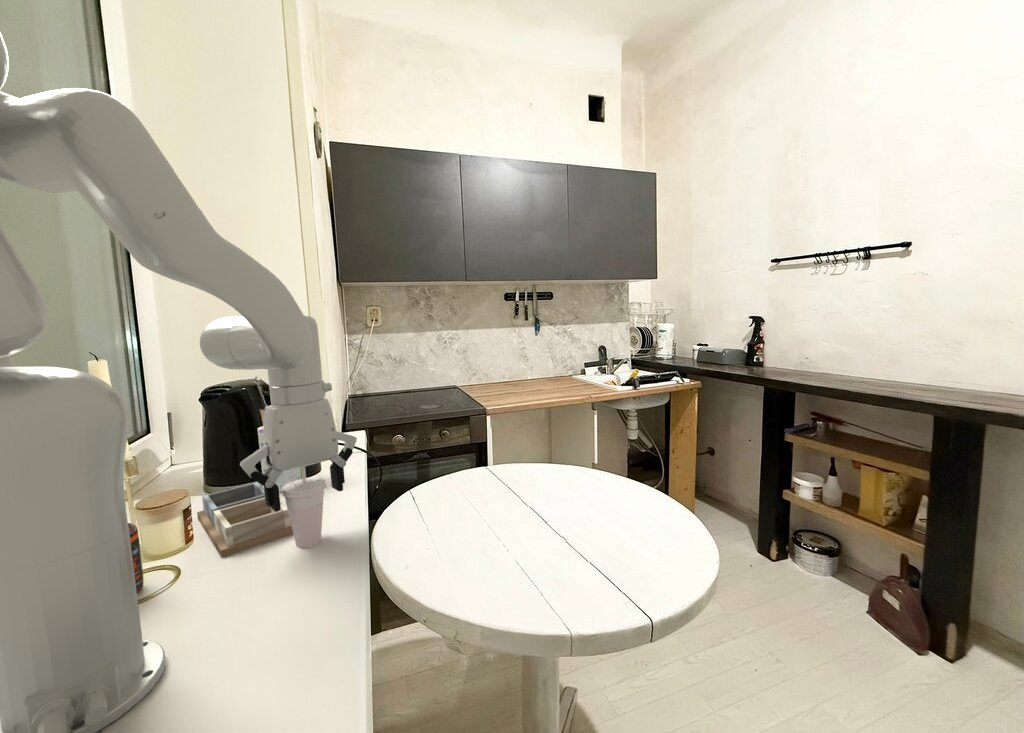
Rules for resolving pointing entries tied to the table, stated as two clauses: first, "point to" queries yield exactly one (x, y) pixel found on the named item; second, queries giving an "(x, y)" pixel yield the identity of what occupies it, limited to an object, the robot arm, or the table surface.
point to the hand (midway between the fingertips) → (307, 498)
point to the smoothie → (305, 508)
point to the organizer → (242, 519)
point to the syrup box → (286, 475)
